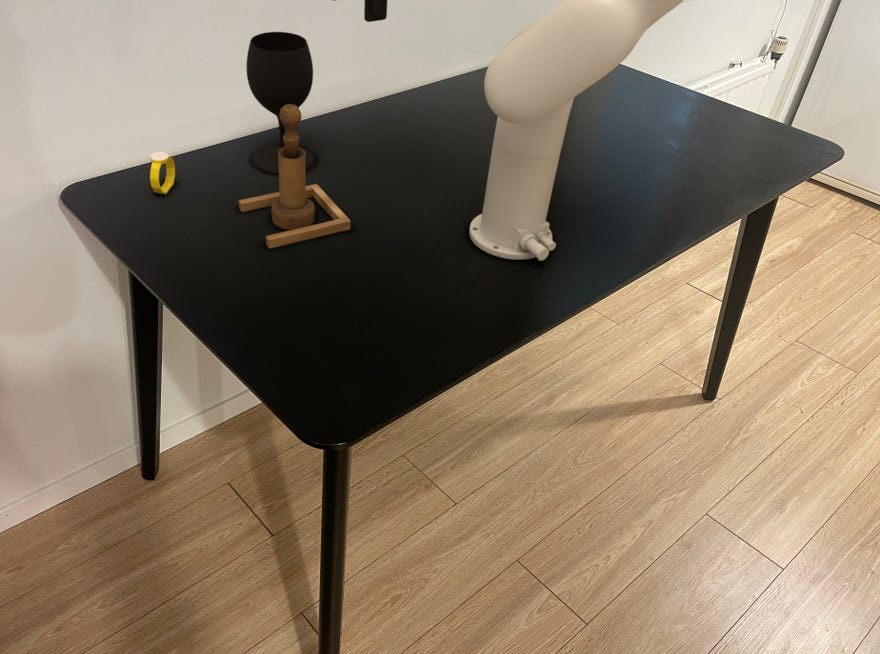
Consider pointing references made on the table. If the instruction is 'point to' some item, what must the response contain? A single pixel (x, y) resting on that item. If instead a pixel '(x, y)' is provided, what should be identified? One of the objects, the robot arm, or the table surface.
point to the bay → (304, 233)
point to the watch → (156, 161)
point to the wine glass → (279, 84)
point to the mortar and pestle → (292, 177)
